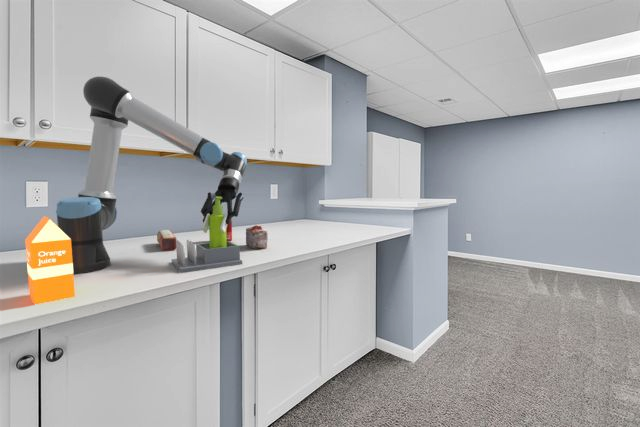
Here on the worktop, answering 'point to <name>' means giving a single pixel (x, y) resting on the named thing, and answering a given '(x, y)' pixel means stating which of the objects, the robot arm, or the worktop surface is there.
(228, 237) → the canned food
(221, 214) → the soap dispenser
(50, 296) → the orange juice
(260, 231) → the food item
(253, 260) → the worktop surface
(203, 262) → the dish rack
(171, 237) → the snack package
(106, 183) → the robot arm
